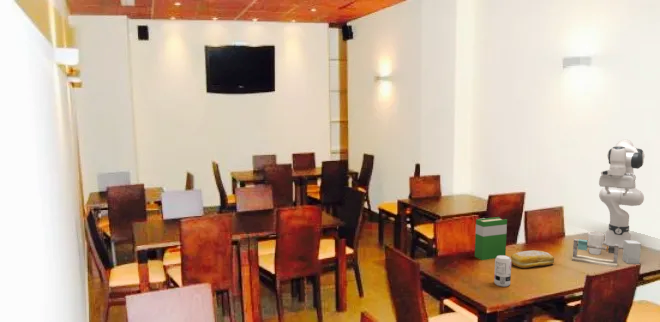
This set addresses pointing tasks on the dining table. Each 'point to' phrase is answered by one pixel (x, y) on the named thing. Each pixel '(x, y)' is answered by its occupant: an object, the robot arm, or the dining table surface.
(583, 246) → the sleeve
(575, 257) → the rail stand
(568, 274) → the dining table surface
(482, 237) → the green cereal box
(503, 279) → the supplement can
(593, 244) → the foam cup
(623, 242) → the robot arm
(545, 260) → the bread
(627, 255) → the supplement box
